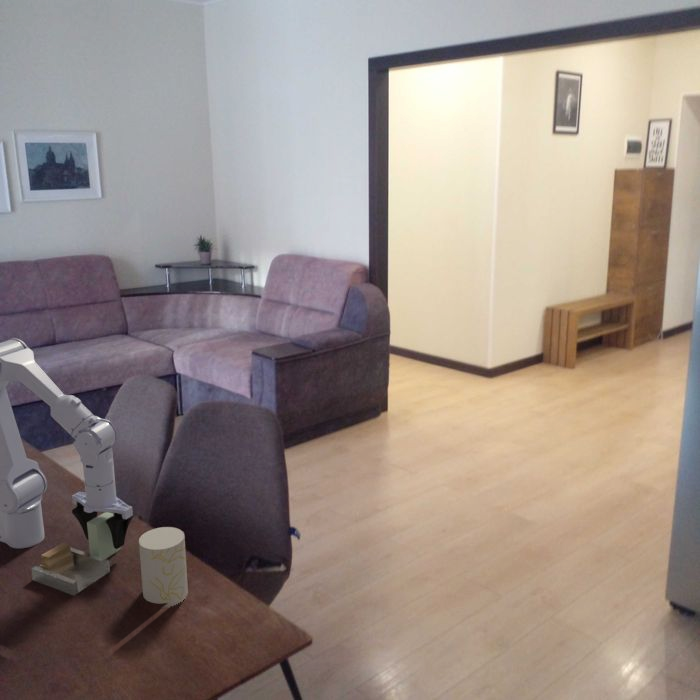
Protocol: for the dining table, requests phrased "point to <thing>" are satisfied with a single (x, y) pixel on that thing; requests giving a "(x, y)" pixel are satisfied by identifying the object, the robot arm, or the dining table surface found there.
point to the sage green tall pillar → (101, 536)
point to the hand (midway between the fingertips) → (105, 542)
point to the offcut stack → (57, 559)
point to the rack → (74, 573)
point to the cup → (163, 566)
